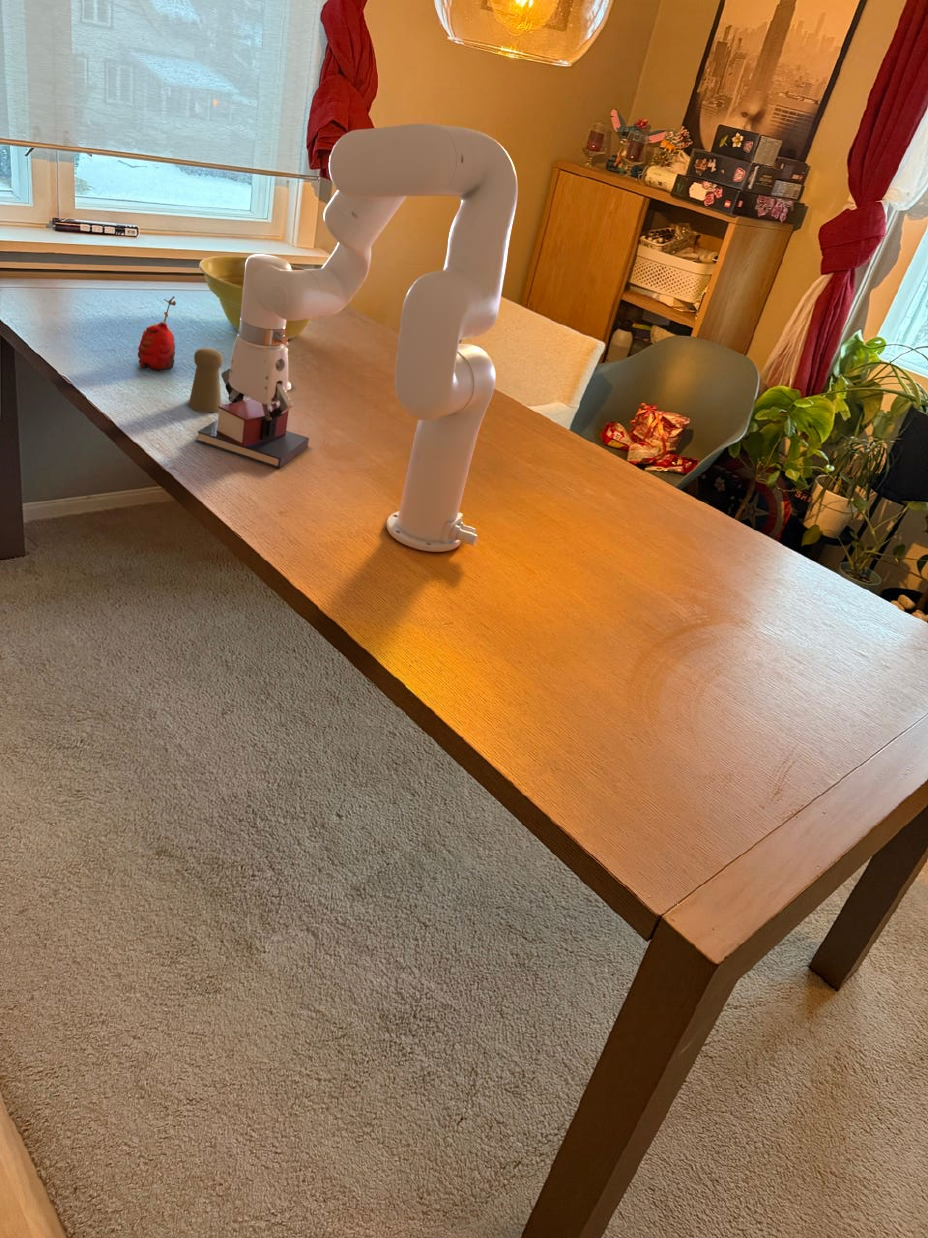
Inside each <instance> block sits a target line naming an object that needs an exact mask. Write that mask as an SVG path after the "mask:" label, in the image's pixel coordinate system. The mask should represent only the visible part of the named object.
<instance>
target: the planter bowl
mask: <svg viewBox="0 0 928 1238" xmlns="http://www.w3.org/2000/svg"><path fill="white" fill-rule="evenodd" d="M249 257H250V256H241V255H240V256H239V255H220V256H219V255H218V256H211V257H207V258H204V259H202V260H201V261H200V262H199V263H198V268H199V269H200V271H201V272H202V273H203V275H204V278H205V281H206V284H207V286H208V288H209V290H210V291H211V292H212V293H213V294H214V295H215V296H216V297H217V298H218V299H219V300H218V301H219V304H220V305H221V309H222V310H223V312H224V315H225V316H226V319H227V321H228V322H229V323H230V325H231V326H233V327H234V328H235V329H236V330H237V331H239V329H240V319H241V308H242V297H243V286H244V275H245V265H246V261H247V259H248V258H249ZM290 266H291V269H292V270H305V269H306V268H304V267H300V266H297V265H294V264H290ZM312 319H313V318H310V319H304V320H297V321H290V320H286V328H285V336H286V337H287V338H288V340H291V339H293V338H294V337H297V336H299V335H300V334H302V332H303V331H304V330H305V329H306V328H307V326H308V325H309V323H310V322H311V320H312Z"/></svg>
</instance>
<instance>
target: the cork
mask: <svg viewBox="0 0 928 1238" xmlns="http://www.w3.org/2000/svg"><path fill="white" fill-rule="evenodd" d="M223 359H224V358H223V355H222V353H221V352H220V351H219V350H218V349H217V350H216V349H215V348H209V347H201V348H198V349H197V350H195V352H194V354H193V361H194V364H195V366H196V367H195V372H194V377H193V382H192V387H191V392H190V396H189V401H188V402H189V403H188V406H189V407H190V408H191V409H193V410H195V411H197V412H201V413H218V412H219V406H220V405H222V396H221V380H220V369H221V368H222V367H223V363H224V360H223Z"/></svg>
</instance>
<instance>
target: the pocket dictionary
mask: <svg viewBox="0 0 928 1238" xmlns="http://www.w3.org/2000/svg"><path fill="white" fill-rule="evenodd" d="M269 406H270V410H271V411H273V409H272V405H269ZM279 406H280V404H279ZM289 413H290V409H289V410H288V411H287V412H286V413H285V414H283V415H282V416H281V417H280V418H278V419H277V424H276V432H275V437H274V438H272V439H275V438H278V437H282V436H285V435H286V431H287V429H288V428H287V427H288V421H289V420H288V419H289ZM264 418H265V415H264V411H263V406H262V403H260V402H258V401H256V400H254V399H252V398H247V399H243V401H238V402H234V403H231V402H229V403H225V404H221V405H220V406H219V411H218V417H217V420H218V428H217V433H219V434H221V435H223V436H224V437H226V438H228V439H230V440H232V441H234V442H236V443H238V444H240V445H242V446H243V447H245V446H249V445H253V444H256V443H260V442H264V441H263V440H261V439H260V434H261V425H262V419H264ZM268 440H271V439H268ZM265 441H267V440H265Z"/></svg>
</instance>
